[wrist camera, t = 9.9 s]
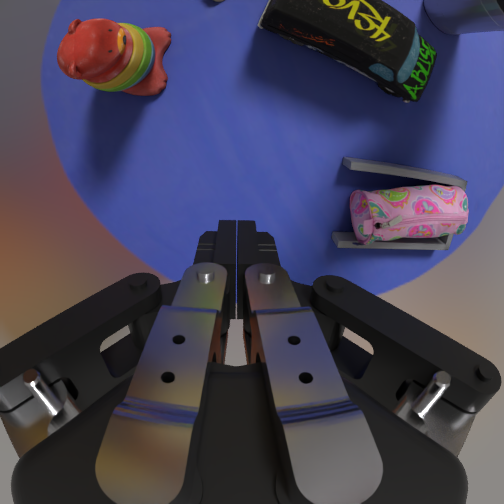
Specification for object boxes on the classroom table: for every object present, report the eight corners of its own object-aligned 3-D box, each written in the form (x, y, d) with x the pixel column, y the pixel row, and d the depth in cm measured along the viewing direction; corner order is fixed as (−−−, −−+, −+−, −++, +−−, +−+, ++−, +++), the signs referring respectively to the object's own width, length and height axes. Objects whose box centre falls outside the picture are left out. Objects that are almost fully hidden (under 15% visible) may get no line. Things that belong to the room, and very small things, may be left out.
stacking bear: (167, 94, 35) (119, 92, 20) (103, 99, 34) (32, 107, 19) (173, 27, 30) (132, -15, 15) (109, 34, 29) (42, 10, 14)
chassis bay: (343, 156, 41) (351, 161, 38) (455, 175, 42) (467, 181, 39) (331, 237, 48) (337, 247, 45) (438, 241, 49) (448, 250, 46)
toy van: (400, 104, 37) (437, 109, 28) (254, 31, 31) (259, 11, 23) (420, 53, 32) (458, 49, 23) (281, -22, 27) (292, -50, 18)
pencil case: (342, 232, 47) (362, 260, 40) (344, 180, 43) (367, 199, 35) (440, 223, 47) (467, 245, 39) (447, 178, 43) (477, 195, 35)
